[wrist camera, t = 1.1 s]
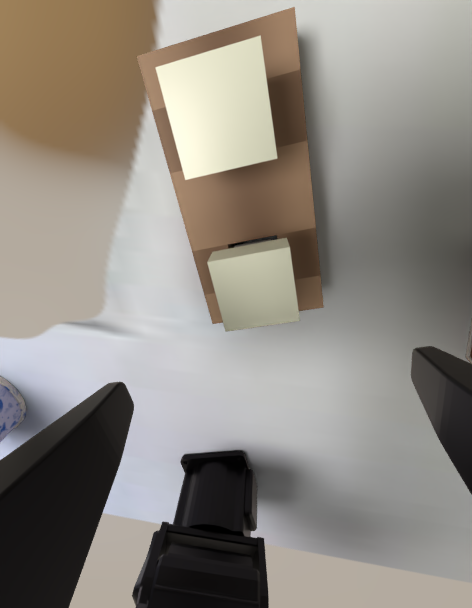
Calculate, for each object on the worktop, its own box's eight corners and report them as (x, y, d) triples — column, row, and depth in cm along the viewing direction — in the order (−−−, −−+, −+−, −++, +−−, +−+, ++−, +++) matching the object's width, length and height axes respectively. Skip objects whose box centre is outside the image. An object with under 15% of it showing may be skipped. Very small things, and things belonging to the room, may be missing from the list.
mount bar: (218, 303, 22) (212, 323, 19) (157, 73, 16) (136, 56, 13) (315, 287, 21) (323, 307, 18) (288, 33, 15) (294, 7, 12)
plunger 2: (233, 292, 19) (225, 331, 14) (220, 236, 17) (207, 262, 13) (290, 282, 18) (299, 320, 14) (282, 223, 17) (289, 246, 12)
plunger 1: (205, 173, 16) (185, 180, 12) (186, 93, 14) (155, 67, 10) (272, 158, 15) (277, 158, 11) (260, 72, 14) (260, 35, 9)
